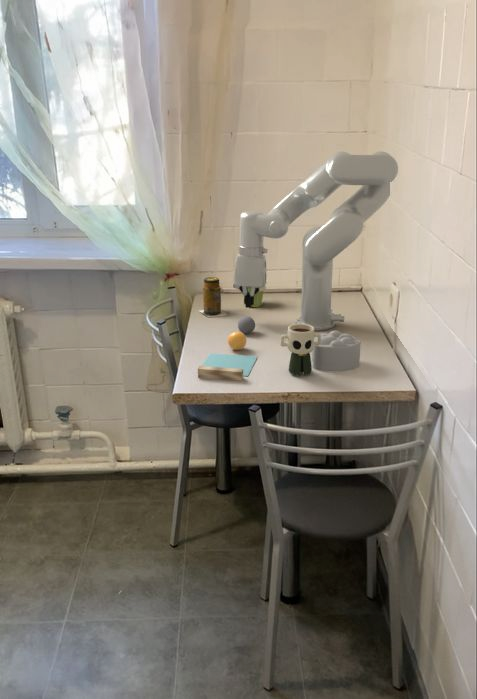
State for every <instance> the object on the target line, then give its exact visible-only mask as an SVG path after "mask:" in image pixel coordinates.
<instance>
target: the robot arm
mask: <svg viewBox="0 0 477 699" xmlns="http://www.w3.org/2000/svg"><path fill="white" fill-rule="evenodd" d="M398 173H399V166H398V162H397V160H396V159H395V158H394V157H393V156H392V155H391V154H390V153H388V152H386V151H376V152H374V153H372V154H350V153H349V152H348V151H347V152H346V151H338V152H335V153H334V154H332V155H331V156H330V157H328V159H327V160H326V161H324V162H323V163H322V164H321V165H319V167H318V168H317V169H316V170H315V171H313V173H311V174H310V175H309V176H308V177H307V178H306V179H304V180H302V182H301V183H300V184H299V185H297V187H296V188H295V189H293V191H291V192H290V193H289V194H287V196H285V197H284V198H283V199H282V200H281V201H279V203H277V204H276V205H275V206H274V207H273V208H272V209H270V211H269V212H268V213H267V214H264V213H263V212H261V211H259V210H258V211H257V210H245V211H243V212H241V213H240V218H239V241H238V242H239V244H238V247H239V248H238V253H237V254H236V257H235V264H234V269H233V270H234V272H233V285H232V287H233V288H234V289H237V290H239V291H240V292H241V293H242V295H244V297H243V305H244V304H246V306H245V308H248V309H250V308H252V307H251V306H252V305H253V304H254V295H255V294H256V293H257V292H258V291H264V292H265V291H266V290H267V286H266V284H267V258H266V255H265V254H268V252H269V251H268V248H265V247H264V238H268V239H269V238H270V239H273V240H274V239H281V238H283V237H285V236H286V235H287V233H288V231H289V226H291V224H293V222H294V221H296V220H297V219H298V218H299V217H300V216H301V215H303V214H304V213H305V212H308V211H309V210H311V209H312V208H316V207H318V206H320V205H321V204H322V203H324V201H326V200H327V198H328V199H329V197H331V195H332V194H333V193H335V192H336V191H337V190H338V189H339V188H340V187H342V185H344V186H347V185H348V186H361V187H360V188H359V189H358V190H357V191H355V193H354V194H352V195H351V196H350V197H349V198H348V199H347V200H345V201H344V202H343V203H341V205H339V206H338V207H337V208H335V209H334V210H333V211H332V213H331V214H330V219H329V220H328V221H327V222H326V223H325V224H324V225H322V226H315V227H313V228H310V229H308V230H307V231H306V232H305V234H304V236H303V239H302V265H301V266H302V268H301V269H302V270H301V272H302V273H301V303H300V304H301V306H300V308H301V310H300V312H301V313H300V317H297V319H296V321H295V322H296V323H295V324H308V325H311V326H313V327H314V332H315V331H317V332H318V331H327V330H331V329H332V328H334V327H335V326H336V322H340V323H344V322H345V315H342V314H341V313H340V314H338V313H333V309H332V292H333V291H332V289H333V288H332V287H333V273H334V272H333V270H334V268H333V267H334V263H333V262H334V259H335V258H336V257H337V256H338V255H339V254H341V253H342V252H343V251H345V249H348V248H349V246H350V245H351V244H352V243H354V242H355V241H356V240H357V239H358V238H359V237H360V235H361V234H362V232H363V229H364V223H365V222H366V221H368V220H369V219H370V218H371V217H372V216H373V215H375V213H376V212H377V211H379V209H381V207H383V206H384V205H385V203H386V202H387V201H388V199H389V197H390V196H391V194H390V182H392V181H393V180H394V179H396V177H397V176H398ZM394 181H395V180H394ZM265 283H266V284H265ZM248 287H252V288H251V293H250V294H249V292H248Z"/></svg>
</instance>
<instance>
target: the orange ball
mask: <svg viewBox="0 0 477 699" xmlns="http://www.w3.org/2000/svg"><path fill="white" fill-rule="evenodd" d="M227 344H228V346H229V348H231V349H232V350H235V351H239V350H242V349H243V348H245V346H246V345H247V337H246V334H244V333H242V332H241V331H240V330H239V331H233V332H231V333H230V334H229V335H228V338H227Z"/></svg>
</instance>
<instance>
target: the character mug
mask: <svg viewBox="0 0 477 699" xmlns="http://www.w3.org/2000/svg"><path fill="white" fill-rule="evenodd" d="M321 334H322V333H317V332H316V333H315V331H314V327H313V326H311V325H308V324H296V323H294V324H293V323H292V324H291V325H288V327H287V334H280V346H281V347H287V349H288V351H289V352H290V353H291V354H290V359H289V365H288V371H289V373H290V374H292V375H293V376H301V374H302V373H303V376H308V375H310V374H311V373H312V372H313V371H312V370H313V365H312V356H311V354H310V353H311V352H312V351H313V349H314V345H320V344H321ZM314 337H318V341H317V342H314ZM285 339H287V342H285Z"/></svg>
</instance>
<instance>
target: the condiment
mask: <svg viewBox="0 0 477 699" xmlns="http://www.w3.org/2000/svg"><path fill="white" fill-rule="evenodd" d="M221 288H222V287H221V286H220V279H219V277H215V276H214V277H213V276H211V277H209V276H208V277H205V278H204V279H203V287H202V290H203V291H202V293H203V294H202V298H203V299H202V303H203V304H202V305H203V309H201V310H200V309H199V310H198V312H200V313H201V314H203V315H204V316H205V317H207V318H214V317H221V316H227V315H228V313H226V312H225V311H222V291H221V290H222V289H221Z"/></svg>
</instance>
